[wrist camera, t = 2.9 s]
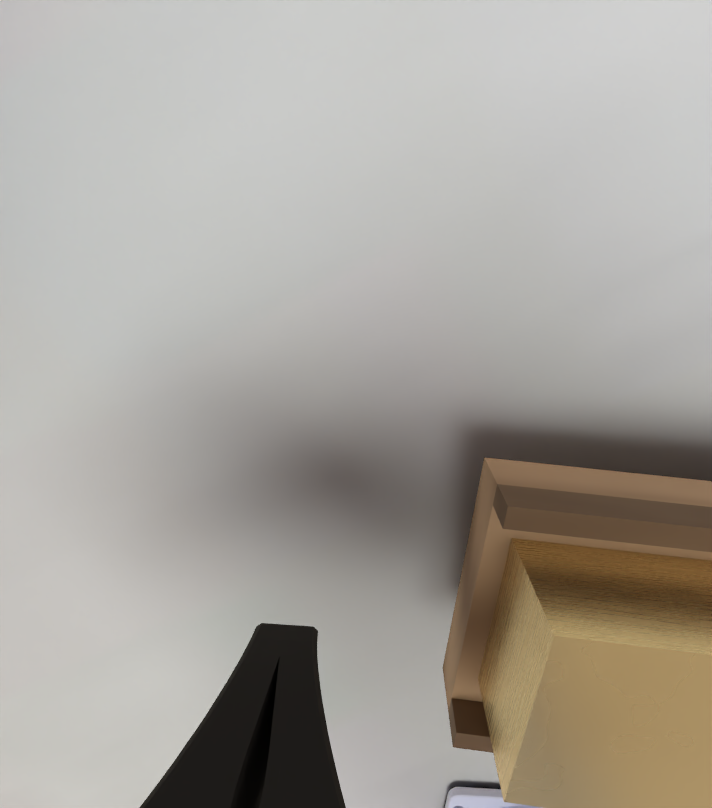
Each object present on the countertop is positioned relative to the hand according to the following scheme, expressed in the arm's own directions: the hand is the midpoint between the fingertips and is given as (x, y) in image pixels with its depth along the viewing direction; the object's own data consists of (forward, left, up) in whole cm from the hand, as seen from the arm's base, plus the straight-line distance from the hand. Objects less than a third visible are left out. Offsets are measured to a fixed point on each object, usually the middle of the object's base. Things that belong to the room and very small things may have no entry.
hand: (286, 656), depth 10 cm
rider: (0, -8, -2) cm, 9 cm away
